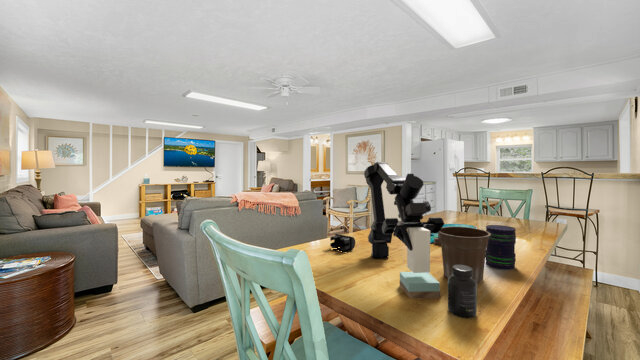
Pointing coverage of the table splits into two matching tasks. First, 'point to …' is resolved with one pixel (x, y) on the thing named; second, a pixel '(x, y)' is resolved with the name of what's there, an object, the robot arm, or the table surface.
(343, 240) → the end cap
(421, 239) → the cream block
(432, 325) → the table surface
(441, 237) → the plant pot
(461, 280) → the supplement bottle
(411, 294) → the tower base
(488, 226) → the storage jar
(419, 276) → the tower top
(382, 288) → the table surface
